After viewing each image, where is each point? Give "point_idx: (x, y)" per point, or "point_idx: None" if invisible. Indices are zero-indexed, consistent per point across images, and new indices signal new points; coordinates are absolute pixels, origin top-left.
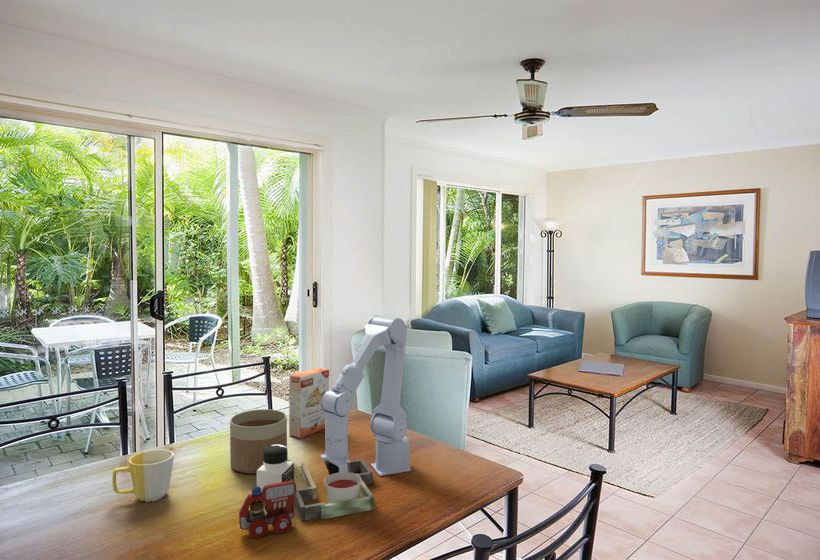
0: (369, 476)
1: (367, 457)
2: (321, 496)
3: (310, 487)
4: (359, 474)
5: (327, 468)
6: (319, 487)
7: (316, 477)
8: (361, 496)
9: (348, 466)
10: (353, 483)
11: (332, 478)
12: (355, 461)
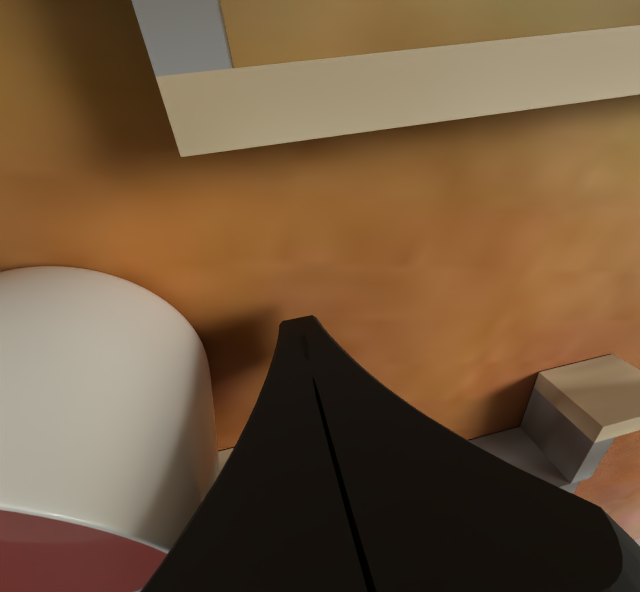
0: None
1: (620, 442)
2: (267, 203)
3: (199, 37)
4: None
5: (401, 486)
6: (442, 196)
7: (615, 183)
8: (219, 452)
9: (571, 413)
10: (103, 583)
11: (142, 473)
12: (580, 466)
